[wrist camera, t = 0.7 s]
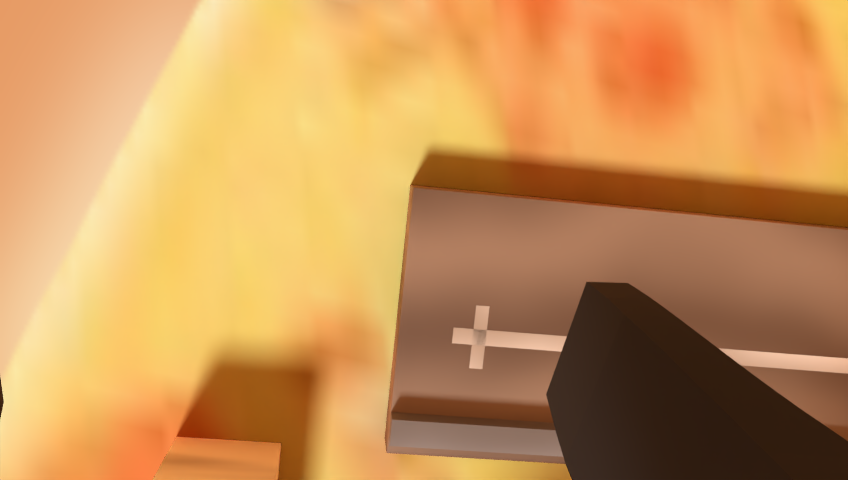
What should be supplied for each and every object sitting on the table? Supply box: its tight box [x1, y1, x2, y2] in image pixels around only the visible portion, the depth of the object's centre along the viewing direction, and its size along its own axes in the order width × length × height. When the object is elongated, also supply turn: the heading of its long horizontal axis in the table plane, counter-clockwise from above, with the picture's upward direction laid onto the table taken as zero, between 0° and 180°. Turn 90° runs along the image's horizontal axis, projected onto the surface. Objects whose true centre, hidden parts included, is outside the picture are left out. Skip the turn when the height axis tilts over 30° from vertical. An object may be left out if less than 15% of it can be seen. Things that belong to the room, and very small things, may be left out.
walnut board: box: [385, 185, 848, 464], centre depth 31 cm, size 10×26×2 cm, turn 84°
